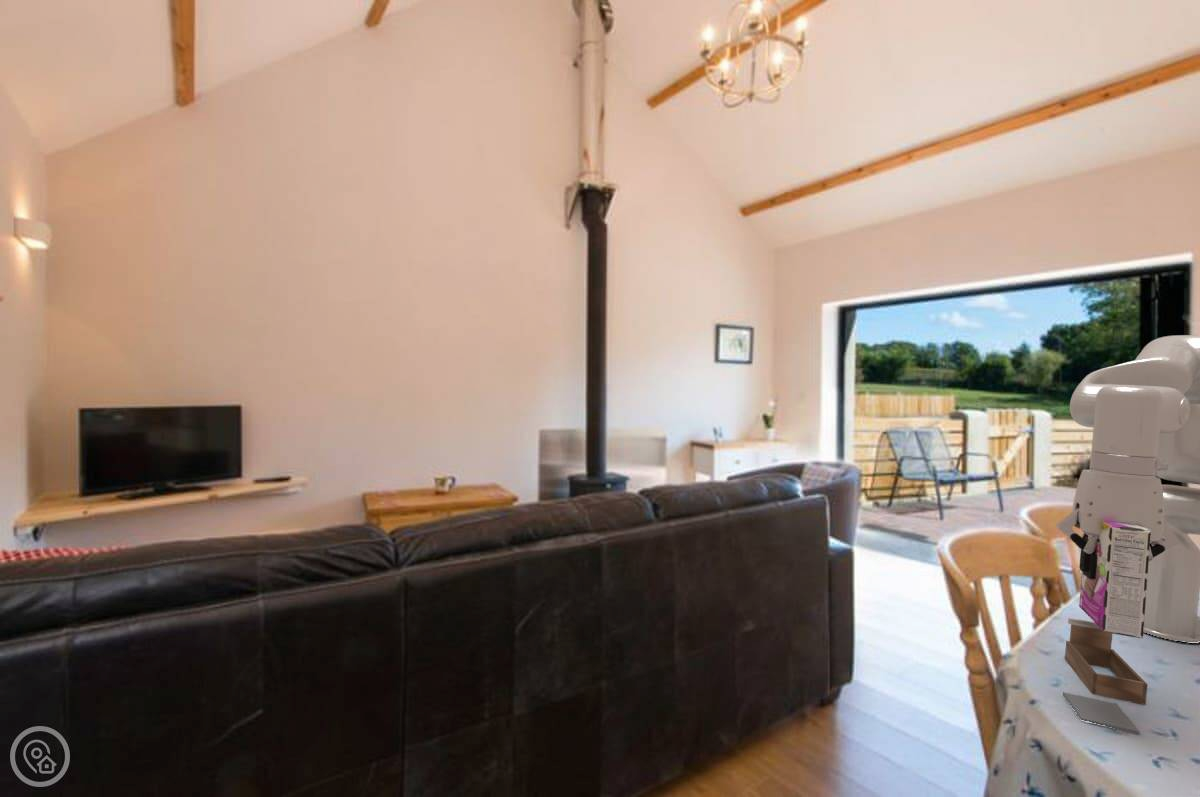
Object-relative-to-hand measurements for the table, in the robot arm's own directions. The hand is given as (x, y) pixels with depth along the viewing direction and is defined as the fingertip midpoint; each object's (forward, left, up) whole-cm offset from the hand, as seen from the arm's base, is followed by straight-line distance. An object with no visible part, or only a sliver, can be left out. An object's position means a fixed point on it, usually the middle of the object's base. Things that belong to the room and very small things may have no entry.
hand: (1111, 578), depth 89 cm
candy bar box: (0, 0, -7) cm, 7 cm away
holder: (-5, -14, -22) cm, 26 cm away
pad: (0, 0, -22) cm, 22 cm away
